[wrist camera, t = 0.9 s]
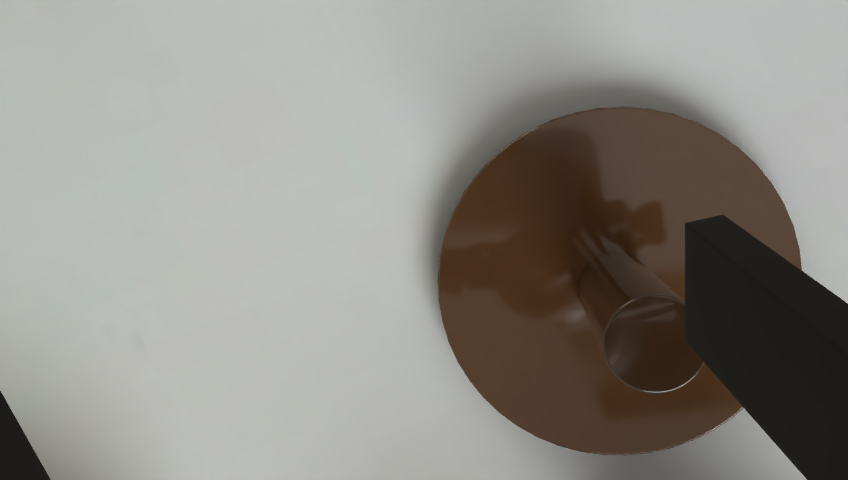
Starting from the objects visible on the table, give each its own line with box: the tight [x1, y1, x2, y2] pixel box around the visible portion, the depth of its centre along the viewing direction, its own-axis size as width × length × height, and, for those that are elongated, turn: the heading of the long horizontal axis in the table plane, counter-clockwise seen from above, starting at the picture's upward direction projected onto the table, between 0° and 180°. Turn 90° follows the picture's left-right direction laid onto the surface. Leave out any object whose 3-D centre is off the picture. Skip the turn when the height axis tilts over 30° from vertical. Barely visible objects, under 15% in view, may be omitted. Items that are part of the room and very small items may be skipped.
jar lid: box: [438, 107, 802, 455], centre depth 21 cm, size 13×13×9 cm
